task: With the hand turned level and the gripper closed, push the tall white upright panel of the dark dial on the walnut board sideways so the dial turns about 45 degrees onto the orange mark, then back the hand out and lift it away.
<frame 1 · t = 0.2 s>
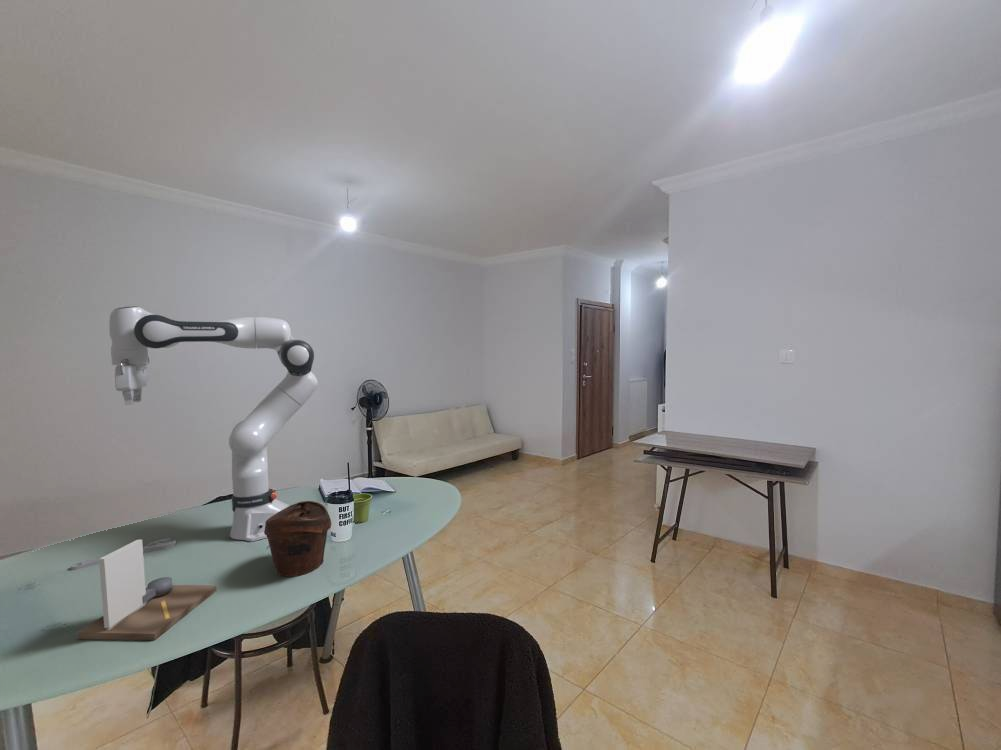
hand: (133, 403, 140), 48 cm above the table, tool pointing down, fingers open, 8 cm apart
plant pot: (359, 520, 167), on the table
adjustable wrench: (127, 556, 142), on the table
dial board: (160, 598, 116), on the table
case: (299, 565, 133), on the table
white upright panel: (137, 573, 109), point 10 cm above the table, hinge at 0.0°
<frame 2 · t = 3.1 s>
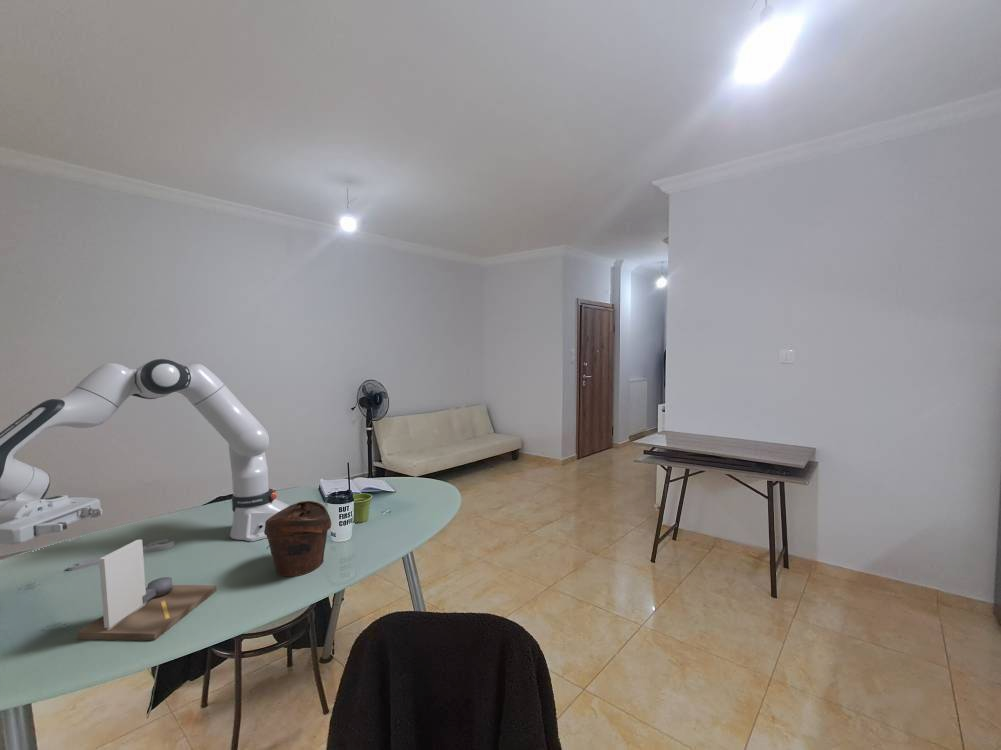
hand: (82, 519, 107), 24 cm above the table, tool horizontal, fingers open, 7 cm apart
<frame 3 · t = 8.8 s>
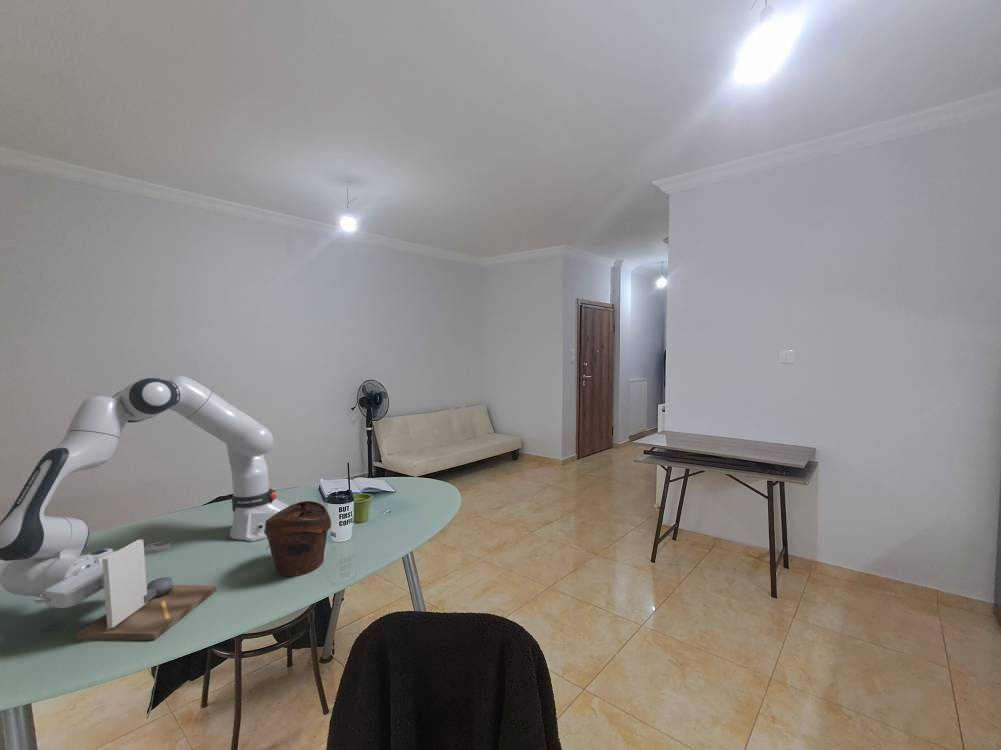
hand: (130, 577, 107), 10 cm above the table, tool horizontal, fingers closed, pressing on white upright panel
adjustable wrench: (120, 559, 140), on the table
white upright panel: (138, 573, 109), point 10 cm above the table, hinge at 2.9°, touching gripper
everything else where it was.
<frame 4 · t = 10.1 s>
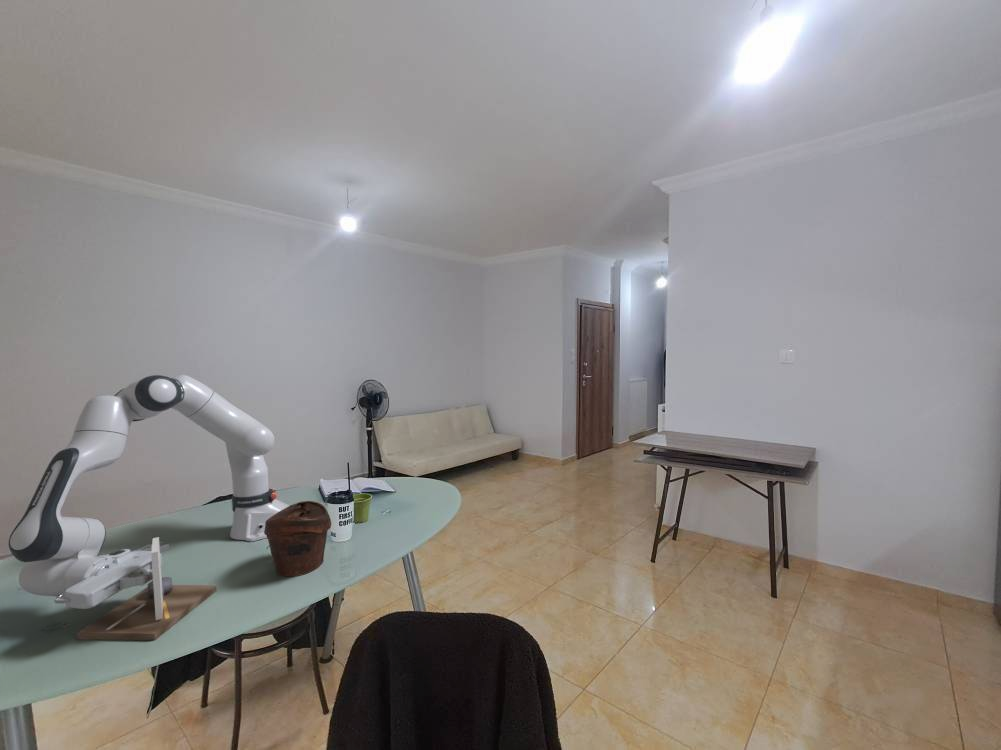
hand: (148, 578, 107), 10 cm above the table, tool horizontal, fingers closed
white upright panel: (157, 571, 110), point 10 cm above the table, hinge at 38.9°, touching gripper
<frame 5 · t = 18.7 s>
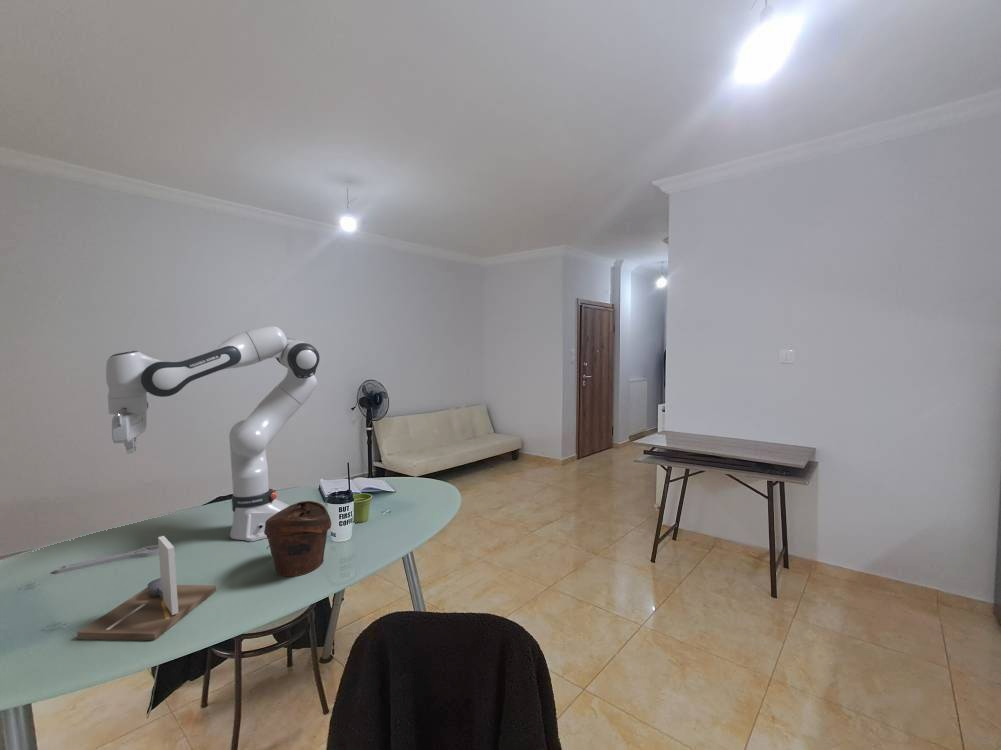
hand: (131, 452, 133), 34 cm above the table, tool pointing down, fingers closed
adjustable wrench: (112, 561, 138), on the table
white upright panel: (164, 569, 111), point 10 cm above the table, hinge at 50.7°
everything else where it was.
at the end: white upright panel at +51° (first picture: +0°) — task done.
